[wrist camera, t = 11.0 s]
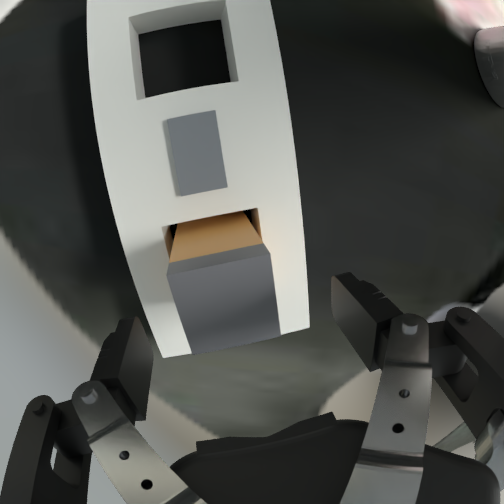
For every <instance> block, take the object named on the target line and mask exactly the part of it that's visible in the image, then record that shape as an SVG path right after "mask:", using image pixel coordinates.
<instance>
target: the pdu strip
mask: <svg viewBox="0 0 504 504" xmlns="http://www.w3.org/2000/svg"><path fill="white" fill-rule="evenodd" d="M213 20H221V23H222V30H223V36H224V42H225V49H226V55H227V61H228V68H229V74H230V81H231V82H229V83H222V84H215V85H208V86H202V87H196V88H191V89H185V90H180V91H175V92H171V93H166V94H161V95H157V96H153V97H149V98H145V91H144V84H143V76H142V67H141V59H140V49H139V38H138V35H139V34H143V33H147V32H151V31H155V30H160V29H164V28H169V27H174V26H179V25H185V24H191V23H198V22H205V21H213ZM87 46H88V63H89V76H90V86H91V96H92V104H93V112H94V119H95V126H96V132H97V138H98V144H99V149H100V155H101V160H102V165H103V170H104V175H105V179H106V184H107V188H108V193H109V197H110V201H111V205H112V209H113V213H114V217H115V221H116V225H117V228H118V232H119V235H120V239H121V242H122V246H123V249H124V252H125V256H126V259H127V262H128V265H129V268H130V272H131V275H132V278H133V281H134V284H135V287H136V289H137V292H138V295H139V298H140V301H141V303H142V306H143V309H144V312H145V314H146V317H147V320H148V322H149V325H150V327H151V330H152V332H153V335H154V337H155V340H156V342H157V345H158V347H159V349H160V352H161V354H162V356H163V358H165V357H172V356H178V355H184V354H190V353H192V352H191V349H190V346H189V343H188V341H187V338H186V335H185V332H184V329H183V326H182V323H181V320H180V317H179V314H178V311H177V308H176V305H175V302H174V299H173V296H172V293H171V289H170V286H169V283H168V280H167V276H166V274H167V269H168V265H169V260H170V255H171V251H172V246H173V238H172V234H171V230H170V225H172V224H177V223H182V222H186V221H191V220H196V219H201V218H206V217H211V216H216V215H221V214H226V213H231V212H237V211H242V210H248V209H250V211H251V218H252V225H253V227H254V229H255V230H256V232H257V234H258V235H259V237H260V238H261V240H262V241H263V243H264V244H265V246H266V248H267V249H268V251H269V252H270V254H271V262H272V269H273V276H274V284H275V292H276V299H277V307H278V315H279V323H280V331H281V334H285V333H289V332H293V331H297V330H301V329H305V328H309V327H310V325H309V304H308V287H307V271H306V257H305V244H304V232H303V221H302V211H301V200H300V191H299V181H298V172H297V164H296V156H295V147H294V140H293V132H292V125H291V118H290V111H289V104H288V97H287V91H286V84H285V78H284V72H283V66H282V60H281V55H280V49H279V44H278V38H277V33H276V28H275V23H274V18H273V13H272V8H271V3H270V0H87Z"/></svg>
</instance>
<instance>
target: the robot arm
mask: <svg viewBox="0 0 504 504" xmlns="http://www.w3.org/2000/svg"><path fill="white" fill-rule="evenodd" d="M474 50H475V57H476V61H477V65H478V69H479V72H480V75H481V78H482V80H483V82H484V85H485V87H486V89H487V90H488V92H489V94H490V96H491V97H492V99H493V100H494V101H495V102H496V103H497V104H498V105H499V106H500V107H502V108H504V26H499V27H493V28H487V29H481V30H479V31H478V32H477V33H476V35H475V40H474ZM331 298H332V313H333V317H334V319H335V321H336V323H337V324H338V326H339V327H340V329H341V330H342V332H343V333H344V334H345V336H346V337H347V339H348V340H349V342H350V343H351V345H352V346H353V348H354V349H355V350H356V352H357V353H358V355H359V356H360V358H361V359H362V361H363V362H364V364H365V365H366V367H367V368H368V370H369V371H370V372H371V371H374V370H376V369H379V368H380V369H381V370H382V374H381V378H380V383H379V387H378V391H377V395H376V399H375V403H374V407H373V411H372V414H371V418H370V421H369V423H368V422H365V421H359V420H348V419H347V420H346V419H345V420H336V418H335V416H334V414H333V412H329V413H326V414H323V415H320V416H317V417H313V418H310V419H306V420H303V421H300V422H298V423H296V424H294V425H292V426H290V427H288V428H286V429H284V430H281V431H279V432H277V433H275V434H273V435H271V436H268V437H226V438H219V439H212V440H205V441H197V442H196V447H197V451H195V452H193V453H190V454H188V455H186V456H184V457H182V458H181V459H179V460H178V461H176V462H175V463H173V464H172V465H171V466H170V467H169V466H168V465H167V464H166V463H165V462H164V461H163V460H162V459H161V458H160V457H159V455H158V454H157V453H156V452H155V451H154V450H153V449H152V447H151V446H150V445H149V444H148V443H147V442H146V440H145V439H144V438H143V437H142V436H141V434H140V433H139V432H138V431H137V429H136V428H135V427H134V426H135V421H143V420H146V411H147V403H148V395H149V388H150V380H151V373H152V366H153V350H152V347H151V344H150V342H149V340H148V338H147V335H146V333H145V331H144V328H143V326H142V323H141V321H140V319H139V318H138V317H132V318H126V319H121V320H120V321H119V323H118V326H117V328H116V331H115V332H113V333H111V334H110V335H109V336H108V337H107V338H106V339H105V341H104V343H103V345H102V348H101V351H100V353H99V356H98V357H99V358H98V359H97V361H96V364H95V367H94V370H93V373H92V376H91V379H90V381H87V382H85V383H83V384H81V385H80V386H78V387H77V388H76V390H75V391H74V392H73V394H72V399H71V400H68V401H65V402H62V403H58V404H55V402H54V401H53V400H52V399H51V397H49V396H46V395H41V396H38V397H36V398H34V399H33V400H31V401H30V402H29V404H28V405H27V407H26V409H25V412H24V415H23V417H22V420H21V423H20V426H19V429H18V432H17V435H16V438H15V441H14V444H13V447H12V451H11V454H10V458H9V461H8V465H7V469H6V473H5V477H4V481H3V486H2V491H1V495H0V504H87V493H88V482H89V481H88V480H89V472H90V463H91V455H92V452H93V453H94V454H95V456H96V458H97V460H98V461H99V463H100V465H101V466H102V468H103V469H104V471H105V473H106V474H107V476H108V477H109V479H110V480H111V482H112V483H113V485H114V486H115V488H116V489H117V491H118V492H119V494H120V495H121V496H122V498H123V499H124V501H125V502H126V503H127V504H500V491H501V490H503V489H504V338H503V337H502V336H501V335H499V333H498V332H496V331H495V330H494V329H493V328H492V327H491V326H490V325H489V324H488V323H487V322H486V321H484V320H483V319H482V318H481V317H480V316H479V315H478V314H477V313H476V312H474V311H473V310H471V309H469V308H465V307H455V308H452V309H450V310H449V311H448V312H447V315H446V319H445V321H440V322H433V323H428V322H427V321H426V320H425V319H424V318H423V317H421V316H419V315H416V314H411V313H406V314H404V313H403V312H402V311H400V310H399V309H398V308H397V307H396V306H395V305H394V304H393V303H392V302H391V301H390V300H389V299H388V298H386V296H385V295H384V294H383V293H382V292H381V293H380V290H378V289H377V288H376V287H375V286H374V285H373V284H371V283H368V282H366V281H364V280H362V281H359V280H358V279H357V278H356V277H355V276H354V275H353V274H352V273H350V272H347V273H343V274H339V275H335V276H332V279H331ZM467 358H468V359H469V360H470V361H471V362H472V363H473V364H474V365H475V367H476V368H477V370H478V374H479V377H478V376H477V375H476V374H475V373H474V372H473V371H472V369H471V368H470V367H469V366H468V365H467V363H466V359H467ZM432 378H434V379H435V380H436V382H437V383H438V384H439V386H440V387H441V389H442V390H443V392H444V393H445V394H446V396H447V397H448V399H449V400H450V401H451V403H452V404H453V406H454V407H455V408H456V410H457V411H458V413H459V414H460V415H461V417H462V418H463V420H464V422H465V423H466V424H467V426H468V427H469V429H470V430H471V432H472V433H473V435H474V437H475V438H476V441H475V446H474V447H475V452H476V454H475V459H471V458H467V457H464V456H460V455H457V454H454V453H451V452H447V451H444V450H441V449H438V448H435V447H432V446H429V445H426V444H425V440H426V433H427V425H428V418H429V408H430V397H431V382H432ZM53 447H54V448H56V449H57V453H56V458H55V464H54V469H53V470H52V467H51V463H50V460H51V455H52V450H53Z"/></svg>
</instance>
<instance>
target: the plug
mask: <svg viewBox="0 0 504 504" xmlns="http://www.w3.org/2000/svg"><path fill="white" fill-rule="evenodd" d="M166 276H167V280H168V283H169V286H170V289H171V293H172V296H173V299H174V302H175V305H176V308H177V311H178V314H179V317H180V320H181V323H182V326H183V329H184V332H185V335H186V338H187V341H188V343H189V346H190V349H191V352H192V354H193V355H195V354H201V353H206V352H211V351H216V350H221V349H226V348H231V347H236V346H240V345H245V344H249V343H254V342H258V341H262V340H267V339H271V338H275V337H279V336H281V331H280V323H279V315H278V307H277V299H276V292H275V284H274V276H273V269H272V262H271V254H270V252H269V251H268V249H267V248H266V246H265V244H264V243H263V241H262V240H261V238H260V237H259V235H258V234H257V232H256V230H255V229H254V227H253V226H252V224H251V223H250V221H249V220H248V218H247V216H246V215H245V213H244V212H243V210H242V211H237V212H231V213H226V214H221V215H216V216H211V217H206V218H201V219H196V220H191V221H186V222H182V223H178V225H177V229H176V233H175V237H174V242H173V246H172V251H171V255H170V260H169V265H168V269H167V274H166Z"/></svg>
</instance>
